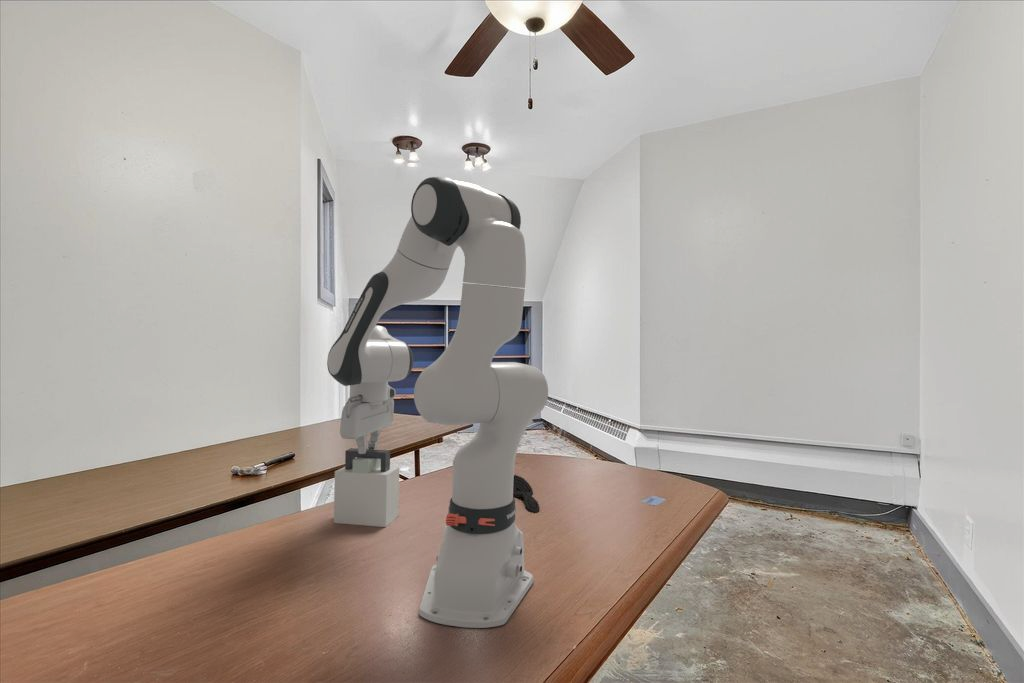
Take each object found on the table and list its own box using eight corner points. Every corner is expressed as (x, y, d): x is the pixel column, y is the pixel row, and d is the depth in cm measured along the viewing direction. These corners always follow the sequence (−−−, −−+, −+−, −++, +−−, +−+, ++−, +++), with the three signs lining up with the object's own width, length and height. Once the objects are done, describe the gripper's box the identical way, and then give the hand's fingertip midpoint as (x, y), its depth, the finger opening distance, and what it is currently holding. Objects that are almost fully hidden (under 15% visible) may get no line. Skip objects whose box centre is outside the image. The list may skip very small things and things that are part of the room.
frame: (389, 469, 113) (390, 450, 113) (385, 471, 111) (385, 452, 111) (350, 466, 115) (350, 448, 115) (345, 469, 112) (345, 450, 112)
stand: (398, 516, 115) (399, 454, 115) (385, 527, 108) (387, 461, 108) (349, 512, 117) (350, 452, 117) (333, 522, 110) (334, 458, 110)
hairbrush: (520, 504, 118) (499, 472, 142) (519, 519, 118) (499, 484, 142) (551, 502, 120) (526, 471, 144) (551, 517, 120) (525, 483, 144)
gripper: (359, 398, 102) (358, 462, 102) (398, 389, 122) (397, 443, 122) (333, 397, 103) (332, 460, 103) (375, 389, 123) (374, 442, 123)
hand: (368, 451), depth 113 cm, fingers open, 3 cm apart
